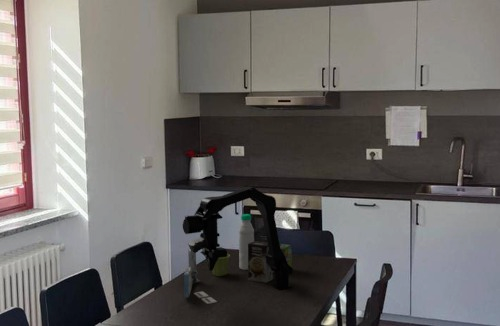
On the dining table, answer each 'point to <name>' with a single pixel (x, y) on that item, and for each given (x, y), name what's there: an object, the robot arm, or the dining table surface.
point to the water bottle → (245, 240)
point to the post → (193, 265)
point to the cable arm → (188, 281)
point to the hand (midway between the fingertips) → (210, 270)
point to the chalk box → (286, 253)
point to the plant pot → (221, 266)
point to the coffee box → (258, 262)
